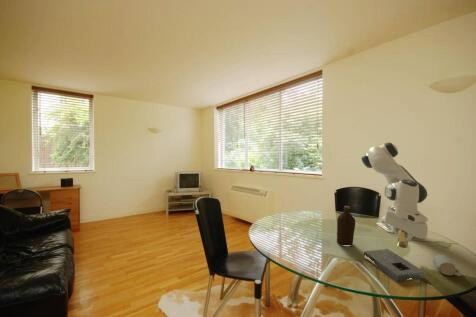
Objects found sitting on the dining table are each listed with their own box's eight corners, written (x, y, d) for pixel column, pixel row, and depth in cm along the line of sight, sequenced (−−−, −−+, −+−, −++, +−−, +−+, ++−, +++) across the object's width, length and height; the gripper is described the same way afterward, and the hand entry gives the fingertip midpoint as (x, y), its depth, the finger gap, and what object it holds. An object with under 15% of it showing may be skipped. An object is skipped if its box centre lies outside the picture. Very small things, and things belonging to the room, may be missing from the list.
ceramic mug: (438, 274, 115) (440, 260, 114) (431, 265, 122) (433, 252, 121) (465, 280, 111) (467, 265, 110) (456, 270, 119) (458, 257, 118)
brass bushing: (394, 244, 116) (396, 229, 115) (401, 243, 117) (403, 228, 116) (402, 248, 112) (404, 232, 111) (409, 247, 113) (411, 232, 112)
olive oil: (357, 246, 142) (360, 208, 139) (342, 248, 140) (345, 209, 137) (346, 238, 152) (349, 203, 149) (332, 240, 150) (334, 204, 147)
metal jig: (363, 257, 130) (364, 251, 130) (387, 254, 133) (387, 248, 133) (397, 282, 109) (397, 275, 108) (424, 278, 112) (424, 271, 111)
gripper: (383, 205, 122) (381, 230, 124) (420, 220, 102) (416, 249, 104) (393, 205, 123) (390, 229, 125) (431, 219, 103) (428, 248, 105)
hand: (402, 238), depth 114 cm, fingers closed on brass bushing, 4 cm apart
